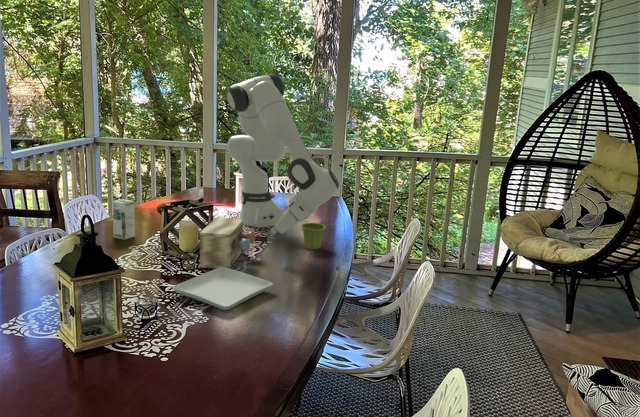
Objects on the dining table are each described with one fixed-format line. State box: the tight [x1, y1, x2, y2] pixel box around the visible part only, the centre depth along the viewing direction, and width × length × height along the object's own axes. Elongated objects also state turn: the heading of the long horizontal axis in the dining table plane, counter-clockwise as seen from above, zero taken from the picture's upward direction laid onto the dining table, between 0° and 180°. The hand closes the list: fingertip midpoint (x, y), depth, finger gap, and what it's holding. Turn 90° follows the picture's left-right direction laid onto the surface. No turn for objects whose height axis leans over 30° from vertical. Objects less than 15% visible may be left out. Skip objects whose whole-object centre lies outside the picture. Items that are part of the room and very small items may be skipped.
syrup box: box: [112, 198, 136, 241], centre depth 187 cm, size 6×6×14 cm
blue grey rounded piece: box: [232, 238, 251, 253], centre depth 165 cm, size 7×4×4 cm, turn 86°
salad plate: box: [172, 267, 274, 311], centre depth 142 cm, size 21×21×3 cm
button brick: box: [238, 230, 256, 245], centre depth 174 cm, size 7×4×4 cm, turn 86°
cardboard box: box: [199, 217, 244, 269], centre depth 170 cm, size 10×20×12 cm, turn 176°
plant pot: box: [301, 222, 327, 250], centre depth 188 cm, size 9×9×9 cm
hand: (272, 231), depth 173 cm, fingers closed
